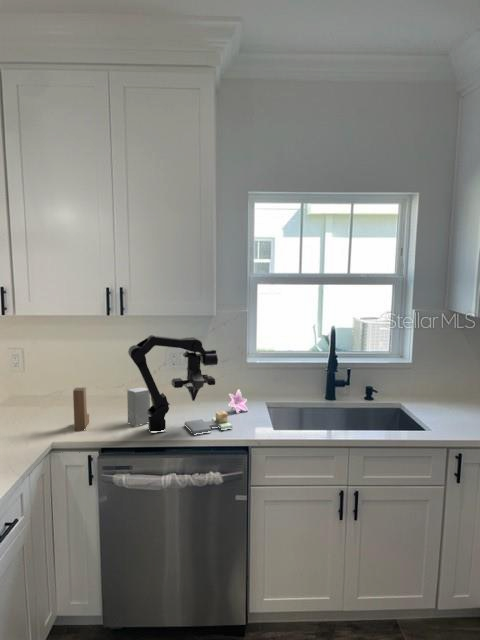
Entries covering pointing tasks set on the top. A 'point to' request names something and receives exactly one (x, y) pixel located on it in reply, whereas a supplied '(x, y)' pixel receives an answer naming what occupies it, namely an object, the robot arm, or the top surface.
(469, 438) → the top surface
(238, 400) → the lily
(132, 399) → the skincare box
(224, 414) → the maple block
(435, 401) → the top surface
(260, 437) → the top surface
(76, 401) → the wooden block
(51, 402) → the top surface
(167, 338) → the robot arm
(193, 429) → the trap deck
